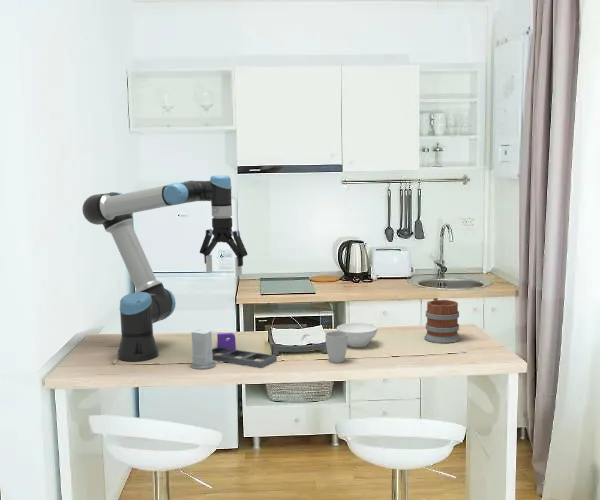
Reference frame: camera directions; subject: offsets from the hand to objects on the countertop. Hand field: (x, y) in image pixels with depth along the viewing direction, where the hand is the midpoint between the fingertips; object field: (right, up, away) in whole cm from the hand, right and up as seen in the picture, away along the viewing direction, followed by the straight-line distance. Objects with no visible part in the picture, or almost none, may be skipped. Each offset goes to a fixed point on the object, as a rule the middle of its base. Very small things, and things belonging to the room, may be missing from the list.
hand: (223, 273), depth 286 cm
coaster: (-6, -33, -11) cm, 35 cm away
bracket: (0, -30, +14) cm, 33 cm away
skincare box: (-6, -32, -11) cm, 35 cm away
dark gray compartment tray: (+6, -32, -4) cm, 32 cm away
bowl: (+51, -28, +13) cm, 60 cm away
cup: (+42, -32, -8) cm, 53 cm away
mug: (+85, -27, +22) cm, 92 cm away
